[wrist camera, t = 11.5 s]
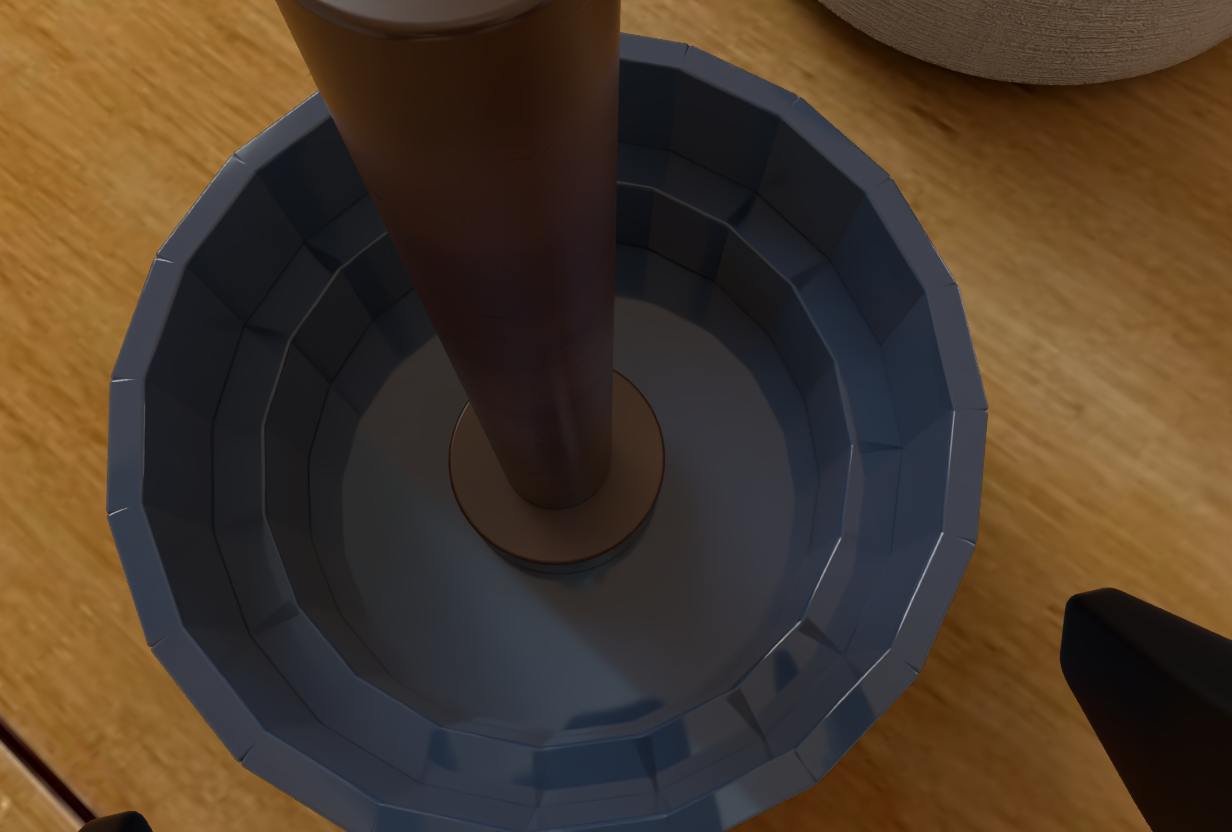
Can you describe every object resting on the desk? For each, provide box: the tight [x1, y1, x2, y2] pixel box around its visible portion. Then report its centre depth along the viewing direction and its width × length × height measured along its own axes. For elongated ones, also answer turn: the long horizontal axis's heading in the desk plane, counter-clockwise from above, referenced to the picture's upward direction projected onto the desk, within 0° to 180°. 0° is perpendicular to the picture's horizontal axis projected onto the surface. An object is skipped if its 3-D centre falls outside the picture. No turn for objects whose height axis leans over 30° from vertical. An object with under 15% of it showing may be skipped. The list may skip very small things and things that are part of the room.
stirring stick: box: [276, 0, 665, 574], centre depth 13 cm, size 4×4×16 cm
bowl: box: [106, 32, 988, 832], centre depth 18 cm, size 14×14×6 cm
